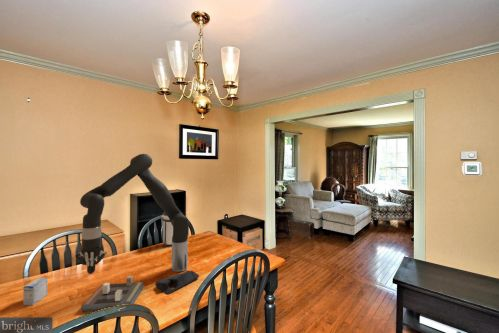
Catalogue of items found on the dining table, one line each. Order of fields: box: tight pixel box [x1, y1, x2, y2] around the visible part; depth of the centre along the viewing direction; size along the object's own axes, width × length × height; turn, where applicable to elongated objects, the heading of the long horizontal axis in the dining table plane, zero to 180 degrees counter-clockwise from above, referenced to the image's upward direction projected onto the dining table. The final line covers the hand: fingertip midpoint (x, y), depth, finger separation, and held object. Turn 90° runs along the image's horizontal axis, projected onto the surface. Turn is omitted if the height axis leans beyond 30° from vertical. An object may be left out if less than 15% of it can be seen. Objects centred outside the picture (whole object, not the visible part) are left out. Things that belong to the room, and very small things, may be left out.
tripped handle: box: [103, 282, 111, 294], centre depth 107 cm, size 2×2×4 cm
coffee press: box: [160, 211, 173, 248], centre depth 182 cm, size 17×16×30 cm
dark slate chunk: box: [154, 270, 200, 295], centre depth 124 cm, size 15×22×5 cm
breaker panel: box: [81, 275, 144, 313], centre depth 107 cm, size 20×17×7 cm
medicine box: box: [22, 277, 48, 306], centre depth 106 cm, size 8×4×9 cm, turn 5°
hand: (91, 273), depth 106 cm, fingers closed
